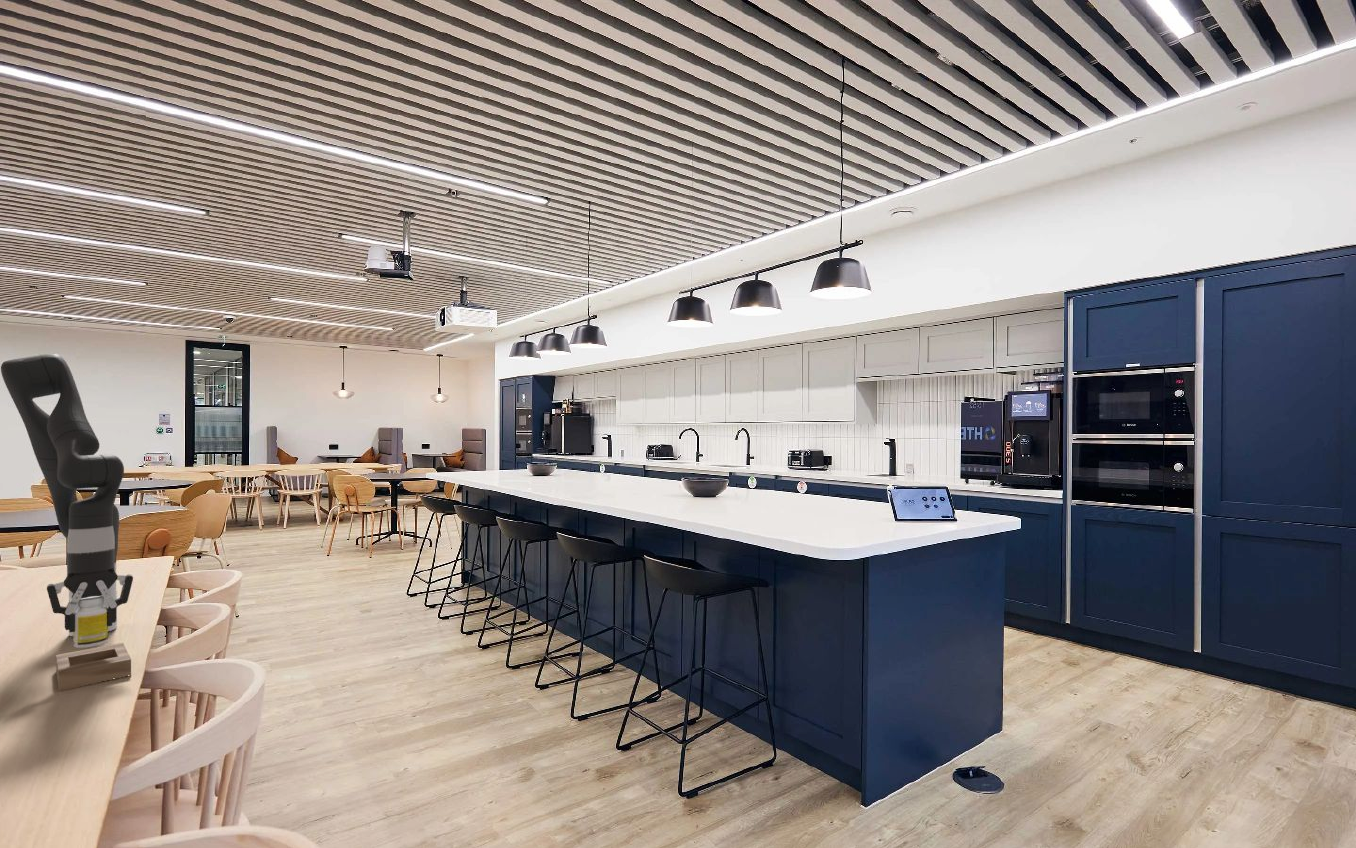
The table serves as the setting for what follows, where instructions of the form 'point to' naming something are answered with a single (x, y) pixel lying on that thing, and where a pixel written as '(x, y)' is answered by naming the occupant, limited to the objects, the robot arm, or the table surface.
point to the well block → (92, 666)
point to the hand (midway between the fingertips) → (91, 628)
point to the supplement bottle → (90, 623)
